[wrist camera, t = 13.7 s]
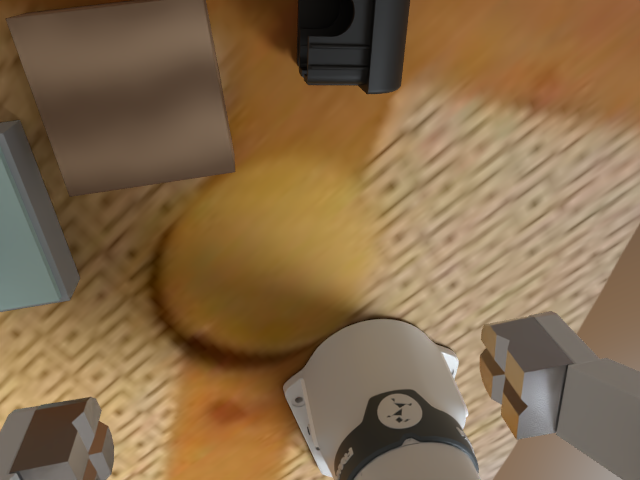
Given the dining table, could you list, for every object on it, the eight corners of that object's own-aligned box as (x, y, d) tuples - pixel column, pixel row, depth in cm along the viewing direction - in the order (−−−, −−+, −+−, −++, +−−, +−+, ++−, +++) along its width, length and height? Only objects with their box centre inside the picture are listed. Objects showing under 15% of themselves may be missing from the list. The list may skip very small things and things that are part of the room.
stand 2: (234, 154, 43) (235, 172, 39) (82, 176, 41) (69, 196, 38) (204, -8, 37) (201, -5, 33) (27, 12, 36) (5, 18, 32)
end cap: (385, 75, 42) (411, 95, 36) (296, 75, 41) (308, 94, 35) (399, -71, 37) (432, -76, 31) (299, -76, 36) (313, -83, 30)
